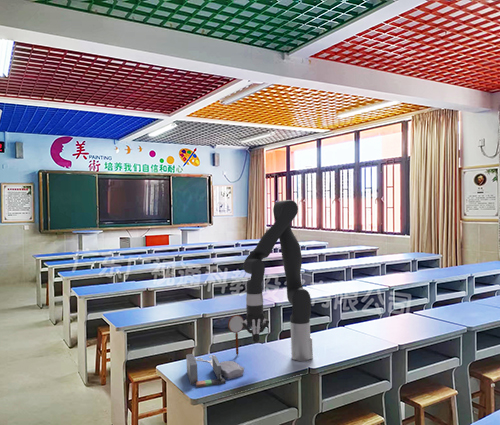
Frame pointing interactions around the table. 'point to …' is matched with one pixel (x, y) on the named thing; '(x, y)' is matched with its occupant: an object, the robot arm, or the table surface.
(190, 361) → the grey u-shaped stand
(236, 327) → the magnifying glass
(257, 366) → the table surface
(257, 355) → the table surface
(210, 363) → the scissors
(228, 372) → the stone block
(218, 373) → the thin grey slab
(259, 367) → the table surface
